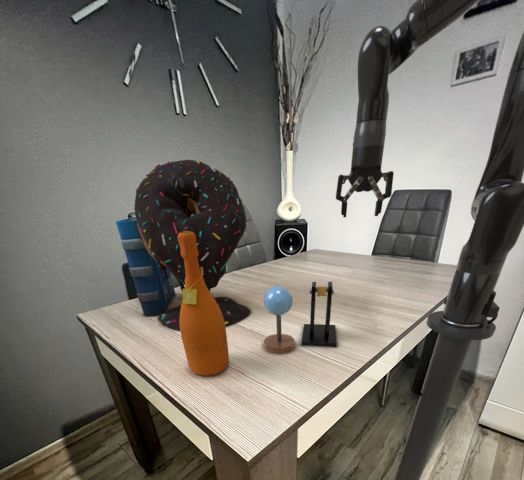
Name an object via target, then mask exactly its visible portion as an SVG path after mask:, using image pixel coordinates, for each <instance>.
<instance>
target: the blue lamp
mask: <svg viewBox="0 0 524 480" xmlns="http://www.w3.org/2000/svg"><path fill="white" fill-rule="evenodd" d="M293 302H294V299H293V295H292V293H291V292H290V290H289V289H287V288H286V287H284V286H281V285H277V286H272V287H271V288H269V289H268V290H267V291H266V292H265V294H264V297H263V305H264V308H265V310H266V311H267V312H268V313H269V314H271V315H273V316H275V318H276V320H275V321H276V324H275V325H276V333H273V334H270V335H268V336H267V337H265V338H264V340H263V347H264V349H265V350H266V351H267V352H269V353H272V354H277V355H278V354H286V353H289V352H292V351H293V350H294V348H295V344H296V343H295V338H294V337H293V336H292V335H289V334H286V333H282V316H283V315H285V314H287V313H289V311H290V310H291V309H292V307H293V304H294V303H293Z"/></svg>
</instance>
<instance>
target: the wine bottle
mask: <svg viewBox="0 0 524 480" xmlns="http://www.w3.org/2000/svg"><path fill="white" fill-rule="evenodd" d="M178 241H179V244H180V249H181V256H182V258H183V259H184V263H185V271H186V279H185V283H184V287H185V289H183V292H182V300H181V305H180V306H181V310H180V320H179V323H180V331H179V332H180V337H181V340H182V344H183V349H184V353H185V357H186V361H187V364H188V367H189V369H190V371H191V372H192V373H193V374H195V375H198V376H205V377H207V376H214V375H216V374H219V373H221V372H223V371H224V370H225V369H226V368H227V367H228V365H229V363H230V356H229V343H228V336H227V328H226V326H225V322H224V318H223V315H222V312H221V310H220V308H219V306H218V304H217V302H216V301H215V299H214V298H215V297H214V296H213V294H212V293H211V290H210V291H209V290H208V288H207V286H206V285H205V282H204V279H203V276H202V274H201V272H200V268H199V264H198V259H197V257H198V255H199V253H198V250H197V245H196V236H195V234H194V233H193V232H191V231H184V232H181V233H179V234H178Z"/></svg>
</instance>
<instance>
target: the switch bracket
mask: <svg viewBox="0 0 524 480" xmlns="http://www.w3.org/2000/svg"><path fill="white" fill-rule="evenodd" d="M316 287H317V281H312V282H311V287H310V288H309V295H310V317H309V318H310V319H309V320H310V321H309V322H310V323H303V328H302V334H301V335H302V336H301V342H300V345H301V346H305V347H307V346H308V347H325V348H326V347H328V348H337V346H338V339H337V329H336V327H337V325H336V324H331V313H332V301H333V299H332V298H333V295H334V294H335V288H333V281H328V282H327V287H328V291H327V292H326V309H325V322H324V324H319V323H318V324H316V323H315V318H316V317H315V316H316V297H317V292H316Z"/></svg>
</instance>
